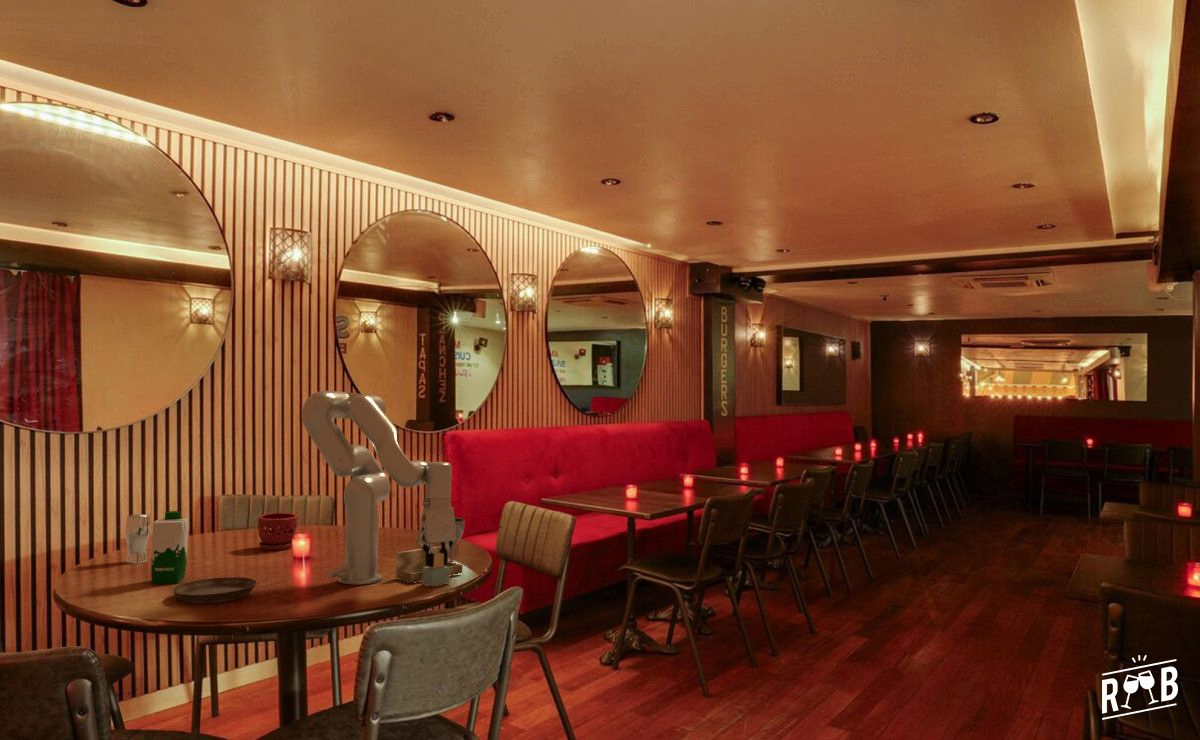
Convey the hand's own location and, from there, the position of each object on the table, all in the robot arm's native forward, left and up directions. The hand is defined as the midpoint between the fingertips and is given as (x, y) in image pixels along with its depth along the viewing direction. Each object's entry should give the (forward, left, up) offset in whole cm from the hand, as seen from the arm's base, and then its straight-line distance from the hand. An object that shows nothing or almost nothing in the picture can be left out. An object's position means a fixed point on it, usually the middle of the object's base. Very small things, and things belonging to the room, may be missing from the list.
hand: (436, 564), depth 224 cm
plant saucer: (-52, +29, -6) cm, 60 cm away
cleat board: (+4, +9, -6) cm, 12 cm away
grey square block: (0, 0, -6) cm, 6 cm away
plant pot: (-12, +83, -6) cm, 84 cm away
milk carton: (-56, +55, -6) cm, 79 cm away
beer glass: (-55, +90, -6) cm, 106 cm away
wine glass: (+19, +19, -6) cm, 28 cm away
